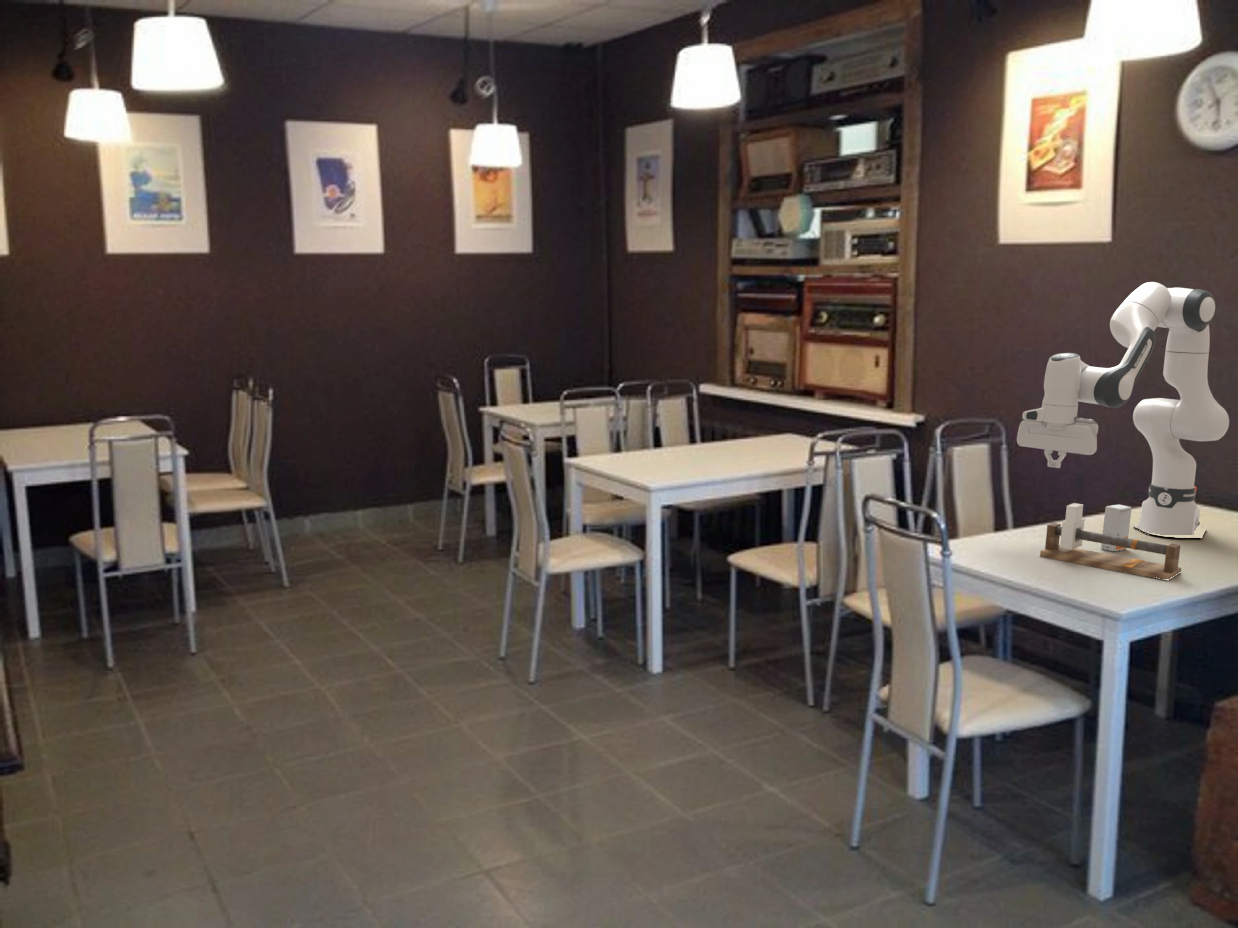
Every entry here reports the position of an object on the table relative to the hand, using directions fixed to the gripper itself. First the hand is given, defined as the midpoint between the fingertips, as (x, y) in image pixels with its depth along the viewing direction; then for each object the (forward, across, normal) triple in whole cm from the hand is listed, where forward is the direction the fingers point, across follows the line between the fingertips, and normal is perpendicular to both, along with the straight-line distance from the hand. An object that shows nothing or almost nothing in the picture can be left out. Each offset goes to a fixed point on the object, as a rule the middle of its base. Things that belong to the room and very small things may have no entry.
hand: (1053, 467), depth 298 cm
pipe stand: (+23, -16, 0) cm, 29 cm away
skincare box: (+23, -12, -18) cm, 32 cm away
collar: (+20, -6, 0) cm, 21 cm away
